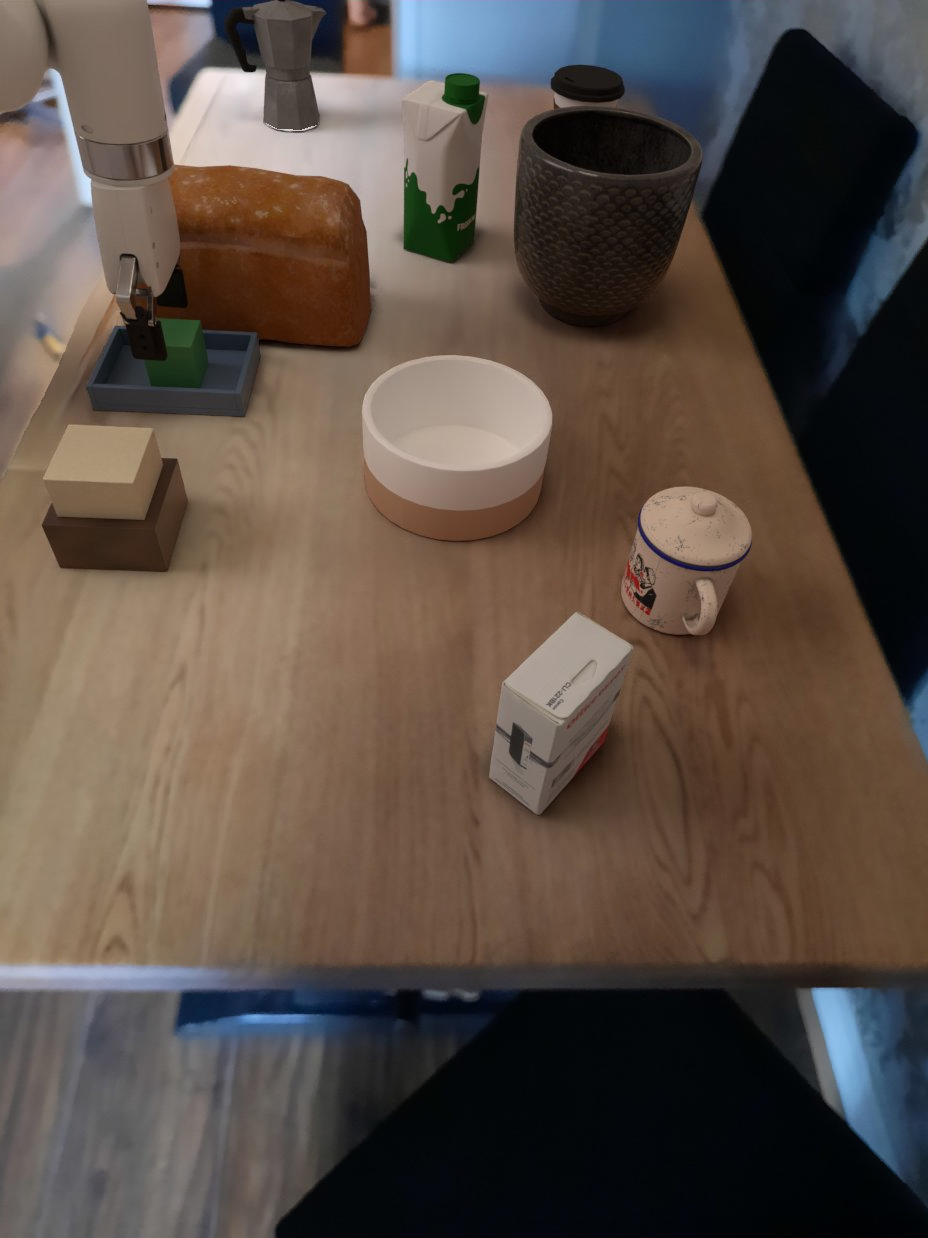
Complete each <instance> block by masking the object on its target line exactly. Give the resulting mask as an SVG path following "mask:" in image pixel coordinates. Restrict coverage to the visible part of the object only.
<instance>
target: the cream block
mask: <svg viewBox="0 0 928 1238" xmlns="http://www.w3.org/2000/svg"><path fill="white" fill-rule="evenodd" d="M162 458H163V457H162V455H161V452H160V447H159V443H158V440H157V437H156V432H155V429H154V428H153V427H139V426H138V427H137V426H135V427H134V426H117V425H116V426H115V425H114V426H113V425H93V424H70V423H69V424H67V427H66V429H65V431H64V432H63V435H62V437H61V439H60V441H59V443H58V445H57V448H56V450H55V452H54V454H53V456H52V458H51V460H50V462H49V464H48V466H47V469H46V470H45V473H44V475H43V477H42V482H43V484H44V487H45V489H46V492H47V494H48V496H49V499H50V501H51V503H52V504H53V506H54V509H55V511H56V514H57V516H58V517H80V518H105V519H131V520H145V517H146V514H147V511H148V508H149V505H150V502H151V499H152V497H153V494H154V491H155V488H156V485H157V482H158V479H159V476H160V473H161V470H162V467H163V462H162Z"/></svg>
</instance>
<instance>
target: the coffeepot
mask: <svg viewBox="0 0 928 1238" xmlns="http://www.w3.org/2000/svg"><path fill="white" fill-rule="evenodd" d="M325 15H327V12H326V10H324V9H323V7H318V6H316V5H309V4H304V3H301V2H298V1H295V0H270V1H265V2H261V3H257V4H253V6H244V7H233V8H231V9H230V10H229V12H228V14H227V16H226V17H225V19H224V21H223V29H224V31H225V34H226V36H227V38H228V40H229V42H230V44H231V48H232V50H233V51H234V54H235V56H236V59H237V61H238V63H239V65H240V68H241V70H242V71H243V72H244V73H256V71H257V68H258V67H257V66H258V65H257V64H250V63H248V58H247V57H248V56H247V52H246V50H245V48H244V46H243V44H242V41H241V37H240V33H239V31H238V29H237V25H238V24H246V25H253V27H254V32H255V35H256V40H257V44H258V48H259V53H260V58H261V61H262V63H263V64H264V65H265V76H264V93H263V94H264V95H263V96H264V97H263V121H262V123H264V122H265V123H267V124H269V125H271V126H273V127H275V128H277V129H293V130H302V129H305V128H308V127H311V126H315V125H318V126H319V124H318V122H319V123H320V118H321V116H320V115H321V114H320V110H319V106H318V100H317V97H316V92H315V88H314V83H313V78H312V75H311V73H310V64H311V61H312V46H313V44H312V43H313V40H314V37H315V35H316V32H317V30H318V27H319V25H320V23H321V22H322V20H323V18H324V16H325ZM319 117H320V118H319ZM265 123H264V124H265Z"/></svg>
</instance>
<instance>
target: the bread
mask: <svg viewBox="0 0 928 1238" xmlns="http://www.w3.org/2000/svg"><path fill="white" fill-rule="evenodd" d="M169 182H170V187H171V192H172V196H173V201H174V206H175V211H176V217H177V223H178V229H179V237H180V254H179V255H180V256H181V268H176V269H182V270H183V275H184V281H185V287H186V293H187V299H188V305H187V307H186V308H176V307H163V306H158V305H157V318H164V319H183V320H200V321H201V325H202V330H216V331H236V332H256V333H258V340H264V341H266V340H267V341H276V342H281V343H283V342H284V343H289V344H299V345H309V346H326V347H349V348H351V347H352V346H355V345H358V344H360V343H361V341H362V338H363V337H364V334H365V332H366V331H367V328H368V324H369V320H370V317H371V313H372V303H371V302H372V301H371V273H370V260H369V258H370V257H369V243H368V232H367V229H366V225H365V222H364V219H363V212H362V205H361V199H360V198H359V196H358V194H357V193H356V192H355V191H354V190H353V188H352V187H351V186H350V185H349V183H347V182H344V181H342V180H339V179H335V178H330V177H326V176H322V175H300V174H299V175H297V174H292V173H285V172H280V171H274V170H268V169H263V168H257V167H249V166H240V165H239V166H238V165H230V164H229V165H210V166H209V165H208V166H194V165H183V164H174V171H173V173H172V174H171V175H170V176H169ZM136 288H141V289H149V286H147V284H145V283H137V286H136ZM136 300H137V305H138V306H142V307H143V308H144V309H145V310H146V311H147V298H143V297H136Z"/></svg>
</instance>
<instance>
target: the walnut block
mask: <svg viewBox="0 0 928 1238" xmlns="http://www.w3.org/2000/svg"><path fill="white" fill-rule="evenodd" d="M161 458H162V462H163V467H162V470H161V473H160V476H159V479H158V482H157V485H156V488H155V491H154V494H153V497H152V499H151V502H150V505H149V508H148V511H147V514H146V517H145V520H131V519H105V518H80V517H58V516H57V514H56V511H55V509H54V506H53V504H52V502H51V503H50V505H49V507H48V509H47V512H46V514H45V516H44V518H43V520H42V523H41V527H42V530H43V533H44V535H45V536H46V539H47V541H48V543H49V546H50V548H51V551H52V553H53V555H54V558H55V559H56V561H57V565H58V566H59V568H60V569H89V570H90V569H91V570H115V571H116V570H117V571H118V570H119V571H144V572H145V571H146V572H168V569H169V565H170V563H171V559H172V557H173V556H172V555H173V553H174V549H175V545H176V543H177V539H178V535H179V532H180V529H181V526H182V522H183V519H184V516H185V512H186V509H187V506H188V503H189V498H188V495H187V490H186V487H185V483H184V480H183V479H184V478H183V475H182V471H181V467H180V461H179V459H178V458H175V457H174V458H172V457H161Z"/></svg>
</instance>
